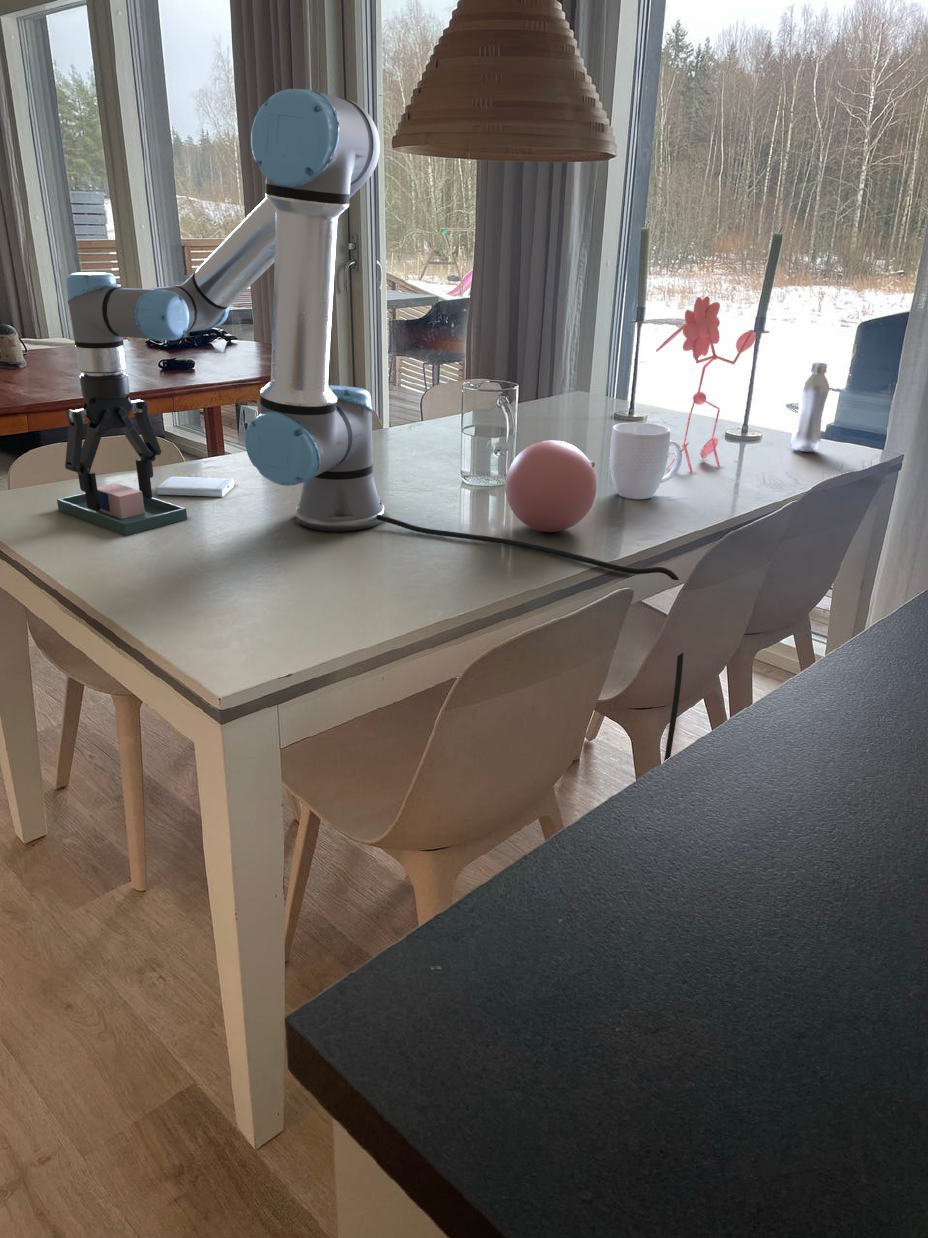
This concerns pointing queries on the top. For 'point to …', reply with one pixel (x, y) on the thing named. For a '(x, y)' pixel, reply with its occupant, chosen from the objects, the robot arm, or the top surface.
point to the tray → (152, 518)
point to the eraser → (120, 500)
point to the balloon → (551, 486)
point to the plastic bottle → (811, 409)
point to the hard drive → (195, 486)
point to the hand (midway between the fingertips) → (120, 502)
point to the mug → (641, 458)
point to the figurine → (699, 338)
